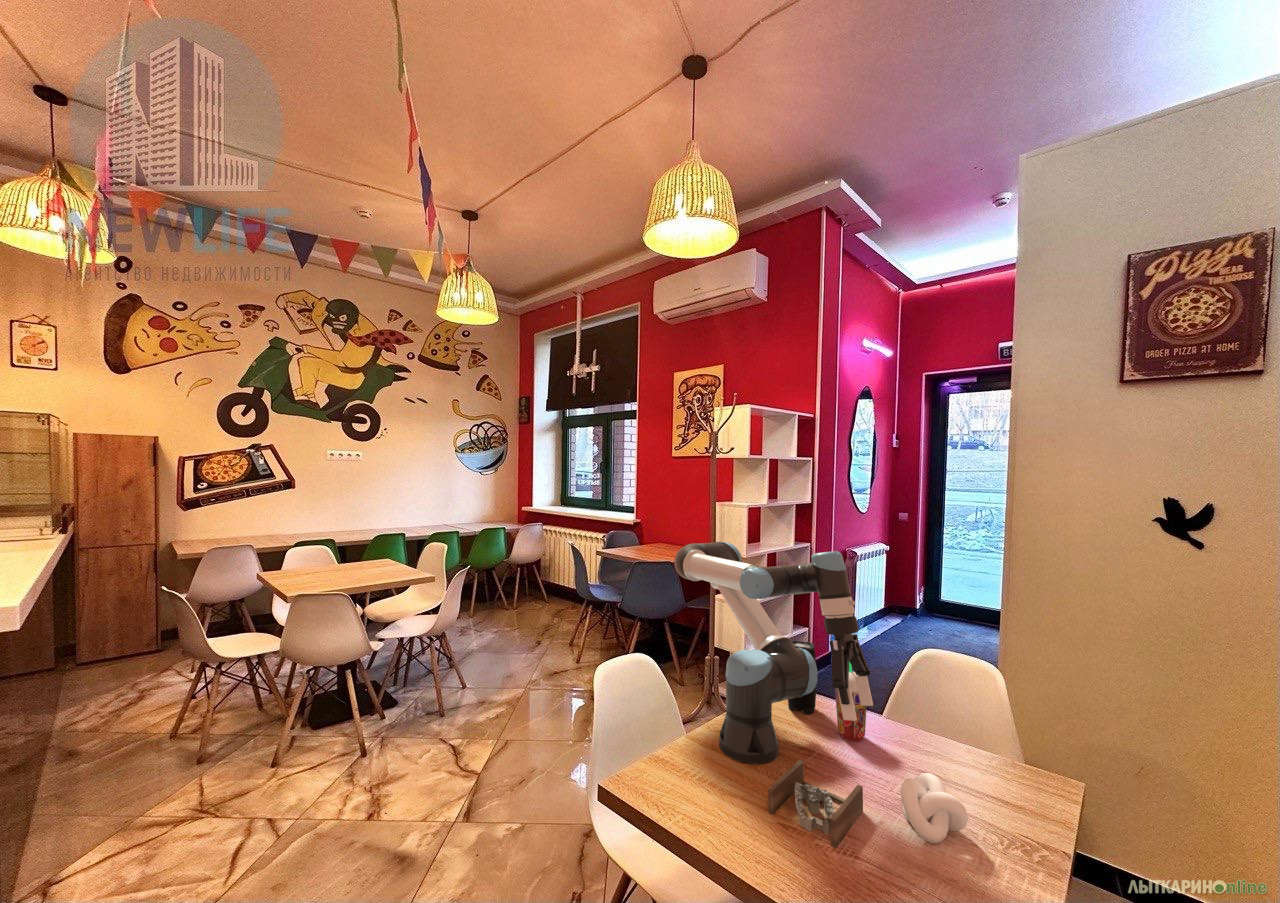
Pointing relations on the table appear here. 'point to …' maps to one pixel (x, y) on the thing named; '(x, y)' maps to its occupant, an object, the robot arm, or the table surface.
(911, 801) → the white knot sculpture
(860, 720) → the smoothie
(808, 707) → the portable speaker
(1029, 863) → the table surface
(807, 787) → the egg carton
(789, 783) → the brown u-shaped frame
